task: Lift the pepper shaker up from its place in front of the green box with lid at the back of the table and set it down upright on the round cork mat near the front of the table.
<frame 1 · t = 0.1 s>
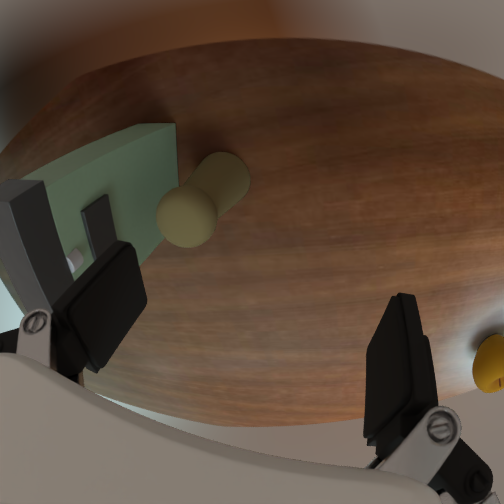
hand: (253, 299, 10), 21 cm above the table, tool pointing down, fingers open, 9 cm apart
apple: (488, 340, 34), on the table
green box with lid: (159, 172, 33), on the table
pepper shaker: (224, 177, 31), on the table
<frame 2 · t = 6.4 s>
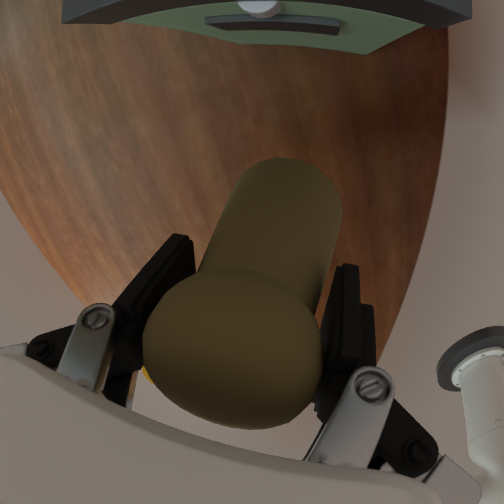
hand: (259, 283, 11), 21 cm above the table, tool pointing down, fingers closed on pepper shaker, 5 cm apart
green box with lid: (302, 22, 20), on the table
pepper shaker: (285, 211, 16), point 15 cm above the table, touching gripper
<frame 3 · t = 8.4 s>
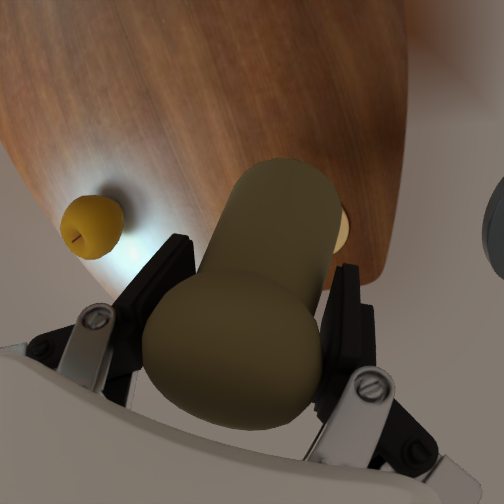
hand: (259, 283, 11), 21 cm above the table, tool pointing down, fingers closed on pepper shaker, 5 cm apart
apple: (113, 208, 38), on the table
cork mat: (313, 226, 32), on the table
pepper shaker: (285, 211, 16), point 15 cm above the table, touching gripper
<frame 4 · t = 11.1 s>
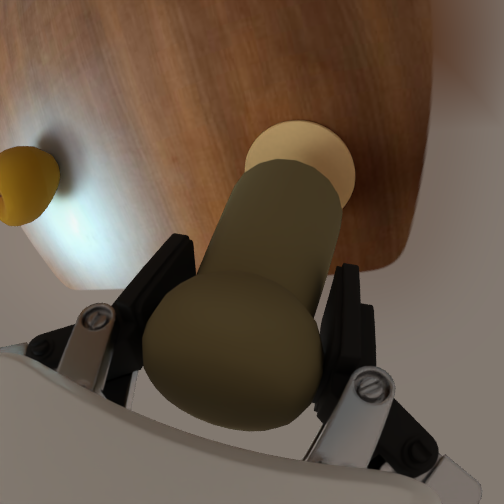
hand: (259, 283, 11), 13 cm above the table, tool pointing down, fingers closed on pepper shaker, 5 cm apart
apple: (51, 166, 27), on the table
cork mat: (300, 173, 21), on the table
pepper shaker: (285, 212, 16), point 7 cm above the table, touching gripper
when the fingers open (6 cm above the table, at t = 13.0 s): pepper shaker stays where it is, resting on cork mat.
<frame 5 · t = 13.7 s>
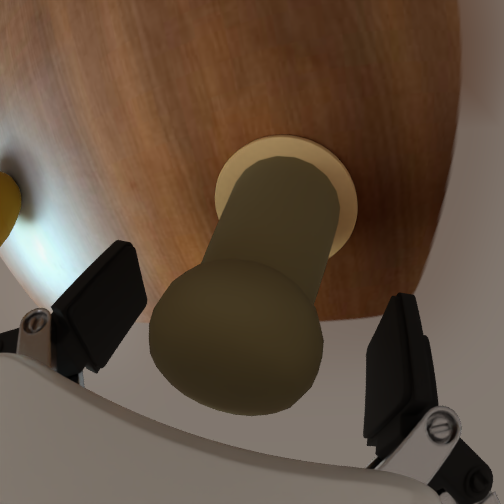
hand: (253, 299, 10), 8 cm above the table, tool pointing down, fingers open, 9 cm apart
apple: (14, 187, 22), on the table
cork mat: (285, 204, 16), on the table
pepper shaker: (285, 207, 16), resting on cork mat
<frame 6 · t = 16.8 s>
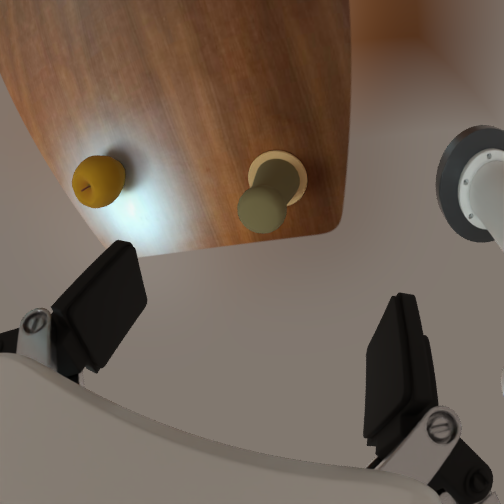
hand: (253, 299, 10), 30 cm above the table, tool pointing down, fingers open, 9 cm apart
apple: (117, 169, 45), on the table
cork mat: (277, 178, 39), on the table
pepper shaker: (277, 179, 39), resting on cork mat
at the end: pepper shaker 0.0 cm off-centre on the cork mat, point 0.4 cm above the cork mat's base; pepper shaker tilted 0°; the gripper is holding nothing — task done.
